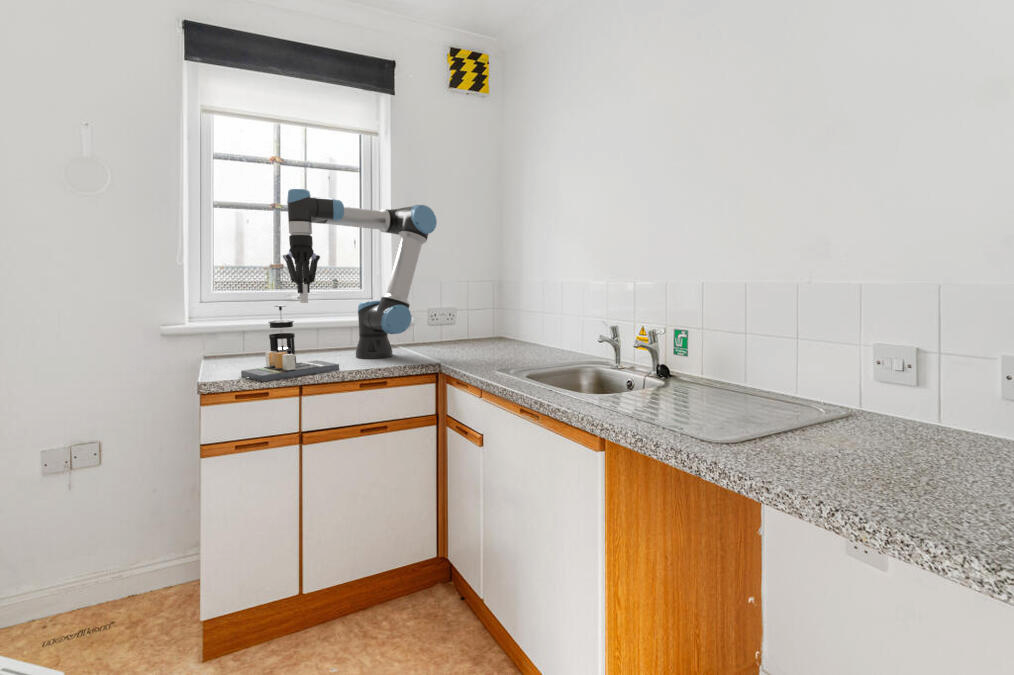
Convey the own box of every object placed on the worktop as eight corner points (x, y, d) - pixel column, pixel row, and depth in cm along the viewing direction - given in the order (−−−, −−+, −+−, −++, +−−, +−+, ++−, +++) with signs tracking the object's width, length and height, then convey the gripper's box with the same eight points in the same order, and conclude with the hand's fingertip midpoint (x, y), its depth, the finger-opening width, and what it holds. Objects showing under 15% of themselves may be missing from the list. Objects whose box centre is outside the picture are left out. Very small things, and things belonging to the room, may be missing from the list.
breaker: (283, 366, 183) (282, 352, 183) (287, 367, 182) (286, 352, 181) (275, 367, 181) (274, 353, 180) (278, 368, 179) (278, 353, 179)
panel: (316, 365, 200) (315, 345, 199) (339, 369, 190) (338, 349, 189) (241, 376, 179) (239, 354, 178) (262, 381, 169) (261, 358, 168)
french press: (280, 362, 207) (277, 304, 204) (302, 363, 205) (299, 304, 203) (262, 368, 195) (258, 306, 193) (285, 368, 194) (281, 306, 191)
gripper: (312, 236, 191) (315, 301, 194) (277, 234, 181) (281, 303, 184) (323, 235, 186) (326, 302, 189) (288, 233, 176) (292, 303, 179)
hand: (304, 302), depth 186 cm, fingers closed
